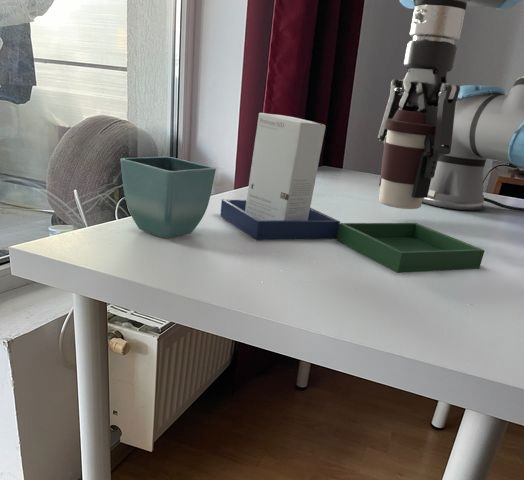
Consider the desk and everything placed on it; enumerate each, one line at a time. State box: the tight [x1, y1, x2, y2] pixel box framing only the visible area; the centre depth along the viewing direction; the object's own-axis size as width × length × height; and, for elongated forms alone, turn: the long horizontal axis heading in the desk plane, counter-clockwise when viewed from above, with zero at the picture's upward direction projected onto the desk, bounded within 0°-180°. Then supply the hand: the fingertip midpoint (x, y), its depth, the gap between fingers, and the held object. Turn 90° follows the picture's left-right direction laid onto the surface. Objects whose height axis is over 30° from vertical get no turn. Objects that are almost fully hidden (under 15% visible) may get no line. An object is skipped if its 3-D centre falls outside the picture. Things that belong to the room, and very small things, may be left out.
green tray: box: [335, 222, 485, 274], centre depth 77 cm, size 14×14×3 cm
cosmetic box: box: [245, 112, 327, 221], centre depth 80 cm, size 8×6×15 cm
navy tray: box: [220, 198, 341, 241], centre depth 83 cm, size 13×13×3 cm
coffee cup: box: [378, 110, 436, 210], centre depth 93 cm, size 10×10×15 cm
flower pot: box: [119, 156, 217, 239], centre depth 72 cm, size 9×9×9 cm
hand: (402, 191), depth 95 cm, fingers closed on coffee cup, 8 cm apart
